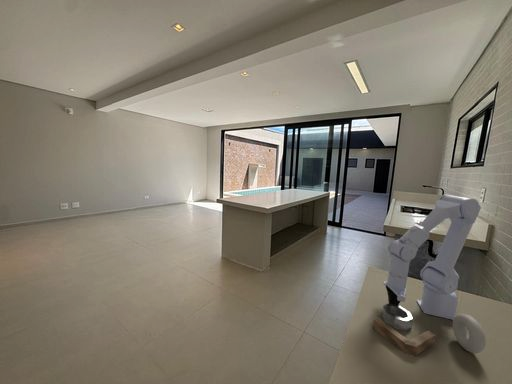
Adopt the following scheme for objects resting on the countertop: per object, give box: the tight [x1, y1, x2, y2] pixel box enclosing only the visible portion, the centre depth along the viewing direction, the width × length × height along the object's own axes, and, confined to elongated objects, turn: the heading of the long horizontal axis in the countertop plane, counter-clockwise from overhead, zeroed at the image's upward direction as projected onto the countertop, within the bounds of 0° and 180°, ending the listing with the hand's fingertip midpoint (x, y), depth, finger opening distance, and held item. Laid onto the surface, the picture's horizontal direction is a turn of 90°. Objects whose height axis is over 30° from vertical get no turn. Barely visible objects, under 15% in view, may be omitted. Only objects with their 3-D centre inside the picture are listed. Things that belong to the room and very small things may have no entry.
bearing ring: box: [381, 302, 414, 332], centre depth 74 cm, size 8×8×4 cm
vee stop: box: [372, 317, 436, 357], centre depth 65 cm, size 17×9×3 cm, turn 70°
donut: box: [452, 313, 487, 354], centre depth 64 cm, size 10×4×10 cm, turn 168°
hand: (392, 307), depth 79 cm, fingers closed
